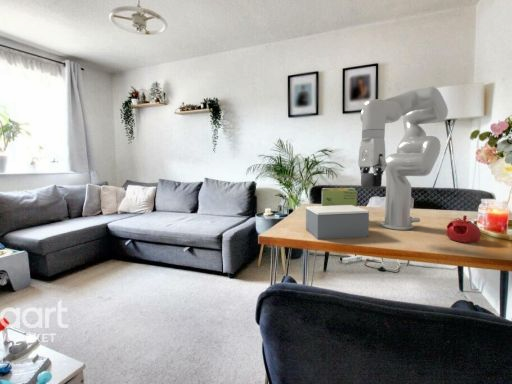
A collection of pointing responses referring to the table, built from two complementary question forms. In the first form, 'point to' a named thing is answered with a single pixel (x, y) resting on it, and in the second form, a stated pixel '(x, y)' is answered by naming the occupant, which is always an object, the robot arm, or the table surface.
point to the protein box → (339, 196)
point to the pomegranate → (463, 231)
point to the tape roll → (368, 180)
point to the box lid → (336, 209)
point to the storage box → (337, 225)
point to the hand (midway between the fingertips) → (370, 185)
